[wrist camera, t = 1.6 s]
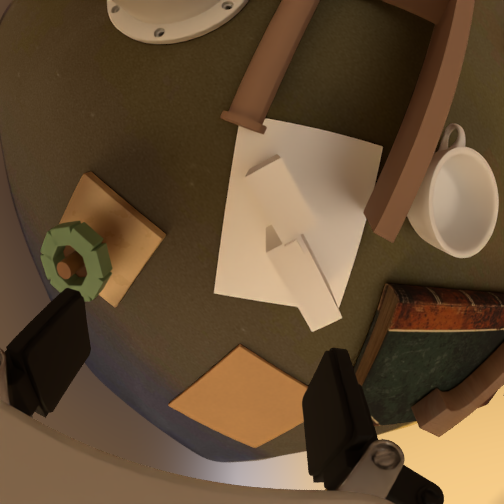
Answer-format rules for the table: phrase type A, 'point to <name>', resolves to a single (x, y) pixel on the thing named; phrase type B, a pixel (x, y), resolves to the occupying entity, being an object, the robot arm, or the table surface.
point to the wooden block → (460, 397)
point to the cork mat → (244, 399)
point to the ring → (87, 247)
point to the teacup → (456, 199)
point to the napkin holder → (295, 217)
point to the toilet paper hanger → (416, 117)
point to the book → (425, 346)
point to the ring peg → (110, 235)
